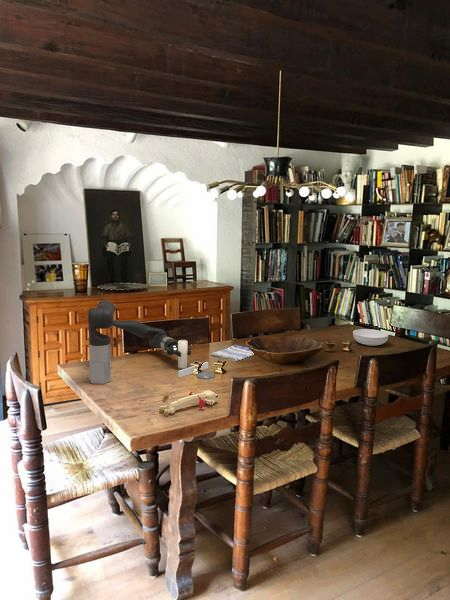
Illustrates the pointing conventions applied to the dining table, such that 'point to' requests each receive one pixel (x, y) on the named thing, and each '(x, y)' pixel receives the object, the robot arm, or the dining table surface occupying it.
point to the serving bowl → (370, 337)
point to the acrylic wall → (191, 370)
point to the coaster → (205, 375)
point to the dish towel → (234, 353)
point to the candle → (182, 353)
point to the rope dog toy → (188, 401)
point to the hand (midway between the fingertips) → (185, 354)
